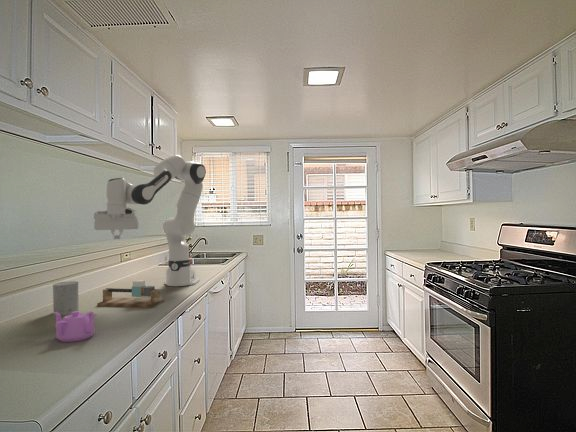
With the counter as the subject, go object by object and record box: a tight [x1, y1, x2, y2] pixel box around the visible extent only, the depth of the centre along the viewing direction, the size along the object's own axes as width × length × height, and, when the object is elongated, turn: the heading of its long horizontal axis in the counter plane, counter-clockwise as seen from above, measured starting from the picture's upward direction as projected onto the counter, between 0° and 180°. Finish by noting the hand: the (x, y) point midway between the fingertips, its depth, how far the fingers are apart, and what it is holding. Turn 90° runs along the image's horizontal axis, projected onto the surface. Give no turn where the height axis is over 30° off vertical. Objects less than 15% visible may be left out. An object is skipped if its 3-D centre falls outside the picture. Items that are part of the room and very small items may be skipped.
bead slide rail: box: [105, 285, 156, 297], centre depth 183 cm, size 25×4×4 cm, turn 80°
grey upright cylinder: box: [52, 281, 80, 316], centre depth 169 cm, size 10×10×12 cm
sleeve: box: [131, 279, 147, 298], centre depth 182 cm, size 4×4×7 cm
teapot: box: [53, 310, 97, 343], centre depth 134 cm, size 12×14×9 cm
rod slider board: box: [96, 288, 165, 309], centre depth 183 cm, size 26×12×6 cm, turn 80°
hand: (117, 239), depth 195 cm, fingers closed
